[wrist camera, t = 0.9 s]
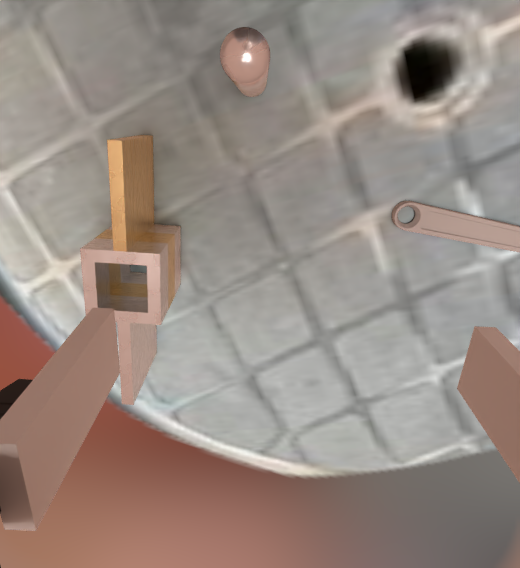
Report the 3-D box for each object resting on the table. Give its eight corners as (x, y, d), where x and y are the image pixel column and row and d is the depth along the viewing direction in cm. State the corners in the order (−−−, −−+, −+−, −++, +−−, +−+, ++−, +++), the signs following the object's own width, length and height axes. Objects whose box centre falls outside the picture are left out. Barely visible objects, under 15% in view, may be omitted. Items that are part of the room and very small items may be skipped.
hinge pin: (238, 63, 36) (220, 25, 21) (267, 65, 36) (272, 29, 21) (236, 95, 37) (219, 81, 22) (265, 98, 37) (268, 85, 22)
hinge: (113, 132, 38) (70, 137, 30) (181, 137, 38) (157, 143, 30) (124, 350, 46) (93, 402, 37) (180, 353, 46) (162, 406, 38)
